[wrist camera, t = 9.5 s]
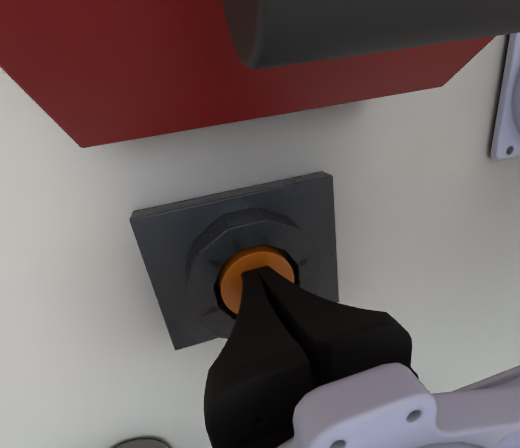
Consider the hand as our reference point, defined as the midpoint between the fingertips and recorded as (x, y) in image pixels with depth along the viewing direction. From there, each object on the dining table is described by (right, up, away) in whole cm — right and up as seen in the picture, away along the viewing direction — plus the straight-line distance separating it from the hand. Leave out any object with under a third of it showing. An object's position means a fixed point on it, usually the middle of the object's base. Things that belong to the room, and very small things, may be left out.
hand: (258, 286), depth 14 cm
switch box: (-1, +1, +3) cm, 3 cm away
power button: (0, +1, +2) cm, 2 cm away
